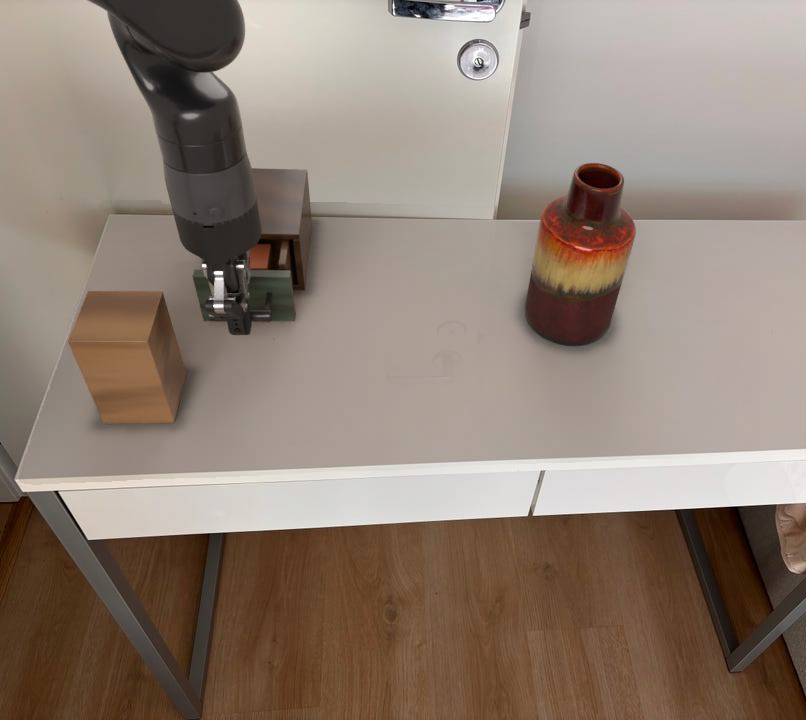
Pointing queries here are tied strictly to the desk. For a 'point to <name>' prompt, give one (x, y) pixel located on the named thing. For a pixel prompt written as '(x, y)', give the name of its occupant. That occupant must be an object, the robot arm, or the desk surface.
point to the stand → (129, 356)
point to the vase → (580, 258)
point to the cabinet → (286, 212)
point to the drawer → (262, 287)
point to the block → (261, 257)
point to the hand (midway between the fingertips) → (241, 330)
